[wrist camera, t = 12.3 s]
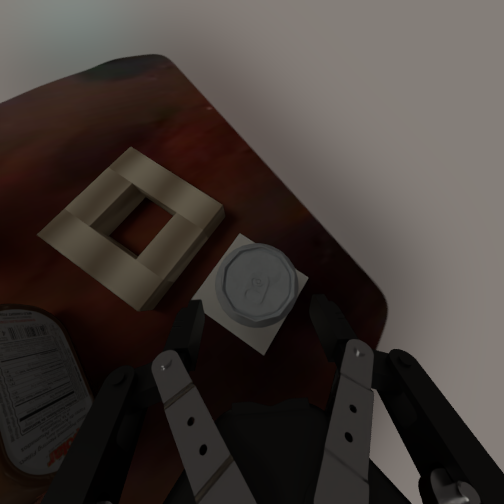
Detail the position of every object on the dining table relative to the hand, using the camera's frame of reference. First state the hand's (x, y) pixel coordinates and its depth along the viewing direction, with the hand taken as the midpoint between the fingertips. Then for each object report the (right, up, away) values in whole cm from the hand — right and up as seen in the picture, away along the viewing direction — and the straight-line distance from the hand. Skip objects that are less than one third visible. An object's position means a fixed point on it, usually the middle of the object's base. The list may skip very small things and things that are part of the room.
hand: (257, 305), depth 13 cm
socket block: (-14, +7, +10) cm, 18 cm away
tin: (-19, -8, +6) cm, 22 cm away
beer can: (-1, -1, +8) cm, 8 cm away
